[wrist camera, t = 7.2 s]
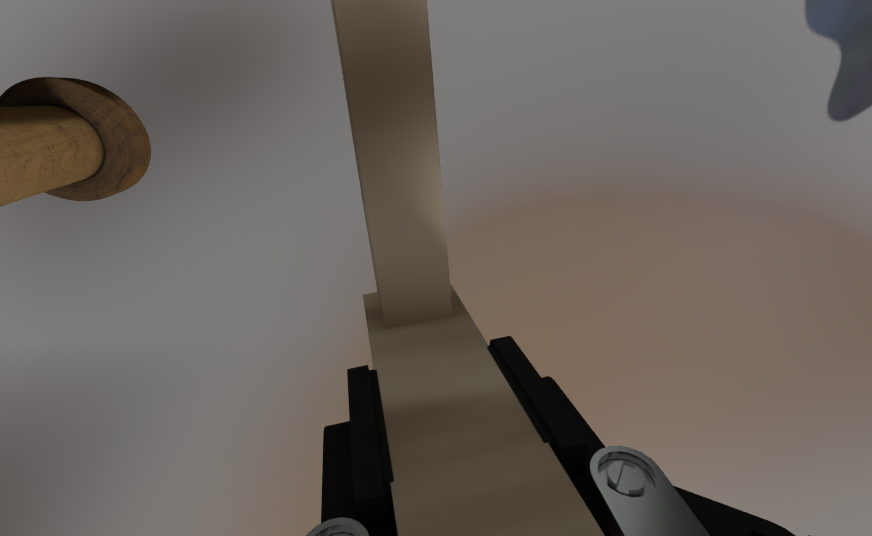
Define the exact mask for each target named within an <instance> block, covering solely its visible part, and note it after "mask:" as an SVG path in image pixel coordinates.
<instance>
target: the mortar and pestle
mask: <svg viewBox="0 0 872 536" xmlns="http://www.w3.org/2000/svg"><path fill="white" fill-rule="evenodd" d="M150 157H151V146H150V142H149V137H148V134H147V132H146V129H145V127H144V126H143V124H142V122H141V120H140V119H139V118H138V116H137V115H136V113H135V112H134V111H133V110H132V109H131V108H130V106H128V105H127V104H126V103H125V102H124V101H123V100H122V99H121V98H119V97H118V96H117V95H115V94H114V93H112V92H111V91H109V90H107V89H105V88H103V87H101V86H99V85H97V84H94V83H91V82H88V81H84V80H79V79H73V78H53V77H52V78H51V77H42V78H33V79H28V80H25V81H22V82H19V83H17V84H15V85H13V86H12V87H10V88H9V89H7V90H6V91H5V92H4V93H3V94H2V95H1V96H0V207H1V206H4V205H6V204H9V203H12V202H15V201H18V200H21V199H24V198H27V197H30V196H33V195H36V194H39V193H42V192H45V193H48V194H50V195H53V196H56V197H60V198H63V199H68V200H75V201H92V200H99V199H103V198H106V197H109V196H112V195H114V194H117V193H119V192H122V191H124V190H126V189H128V188H130V187H131V186H133V185H135V184H136V183H137V182H138V181H139V180H140V179H141V178H142V177H143V176H144V174H145V172H146V170H147V168H148V166H149V162H150Z"/></svg>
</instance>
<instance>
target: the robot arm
mask: <svg viewBox="0 0 872 536" xmlns="http://www.w3.org/2000/svg"><path fill="white" fill-rule="evenodd" d="M487 349H488V351H489V352H490V354H491V356H492V357H493V359H494V361H495V362H496V364H497V366H498V367H499V369H500V371H501V372H502V374H503V376H504V377H505V379H506V381H507V382H508V384H509V386H510V387H511V389H512V391H513V392H514V394H515V396H516V397H517V399H518V401H519V402H520V404H521V406H522V407H523V409H524V411H525V412H526V414H527V416H528V417H529V419H530V421H531V422H532V424H533V426H534V427H535V429H536V431H537V432H538V434H539V436H540V437H541V439H542V441H543V442H544V443H548V444H549V445H550V447H551V449H552V450H553V452H554V454H555V455H556V457H557V458H558V460H559V462H560V463H561V465H562V467H563V468H564V470H565V472H566V473H567V475H568V476H569V478H570V480H571V481H572V483H573V485H574V486H575V488H576V490H577V491H578V493H579V494H580V496H581V498H582V499H583V501H584V503H585V504H586V506H587V508H588V509H589V511H590V512H591V514H592V516H593V517H594V519H595V521H596V522H597V524H598V525H599V527H600V529H601V530H602V532H603V534H604V535H605V536H795V535H794V534H792V533H791V532H789V531H788V530H786V529H785V528H783V527H781V526H779V525H777V524H775V523H773V522H770V521H768V520H765V519H762V518H760V517H757V516H754V515H751V514H749V513H746V512H743V511H741V510H738V509H735V508H732V507H729V506H727V505H724V504H722V503H719V502H716V501H713V500H711V499H708V498H705V497H702V496H700V495H697V494H694V493H692V492H688V491H686V490H683V489H681V488H678V487H675V486H673V485H672V484H671V482H670V481H669V480H668V478H667V477H666V476H665V475H664V473H663V472H662V471H661V469H660V468H659V467H658V466H657V464H656V463H655V462H654V461H653V460H652V459H651V458H649V457H648V456H646V455H645V454H643V453H642V452H639V451H637V450H635V449H632V448H628V447H623V446H608V447H605V446H604V445H603V444H602V442H601V441H600V440H599V438H598V437H597V436H596V434H595V433H594V432H593V430H592V429H591V428H590V426H589V425H588V424H587V423H586V421H585V420H584V419H583V417H582V416H581V415H580V414H579V412H578V411H577V410H576V408H575V407H574V405H573V404H572V403H571V402H570V400H569V399H568V398H567V396H566V395H565V394H564V393H563V391H562V390H561V389H560V387H559V386H558V385H557V383H556V382H555V381H554V380H553V379H552V378H551V377H549V376H547V377H543V378H541V377H540V375H539V374H538V373H537V371H536V370H535V368H534V367H533V366H532V364H531V363H530V362H529V360H528V359H527V358H526V356H525V355H524V353H523V352H522V351H521V349H520V348H519V346H518V345H517V344H516V342H515V341H514V340H513V338H512V337H511V336H507V337H502V338H497V339H492V340H491V341H490V345H489V346H487ZM347 374H348V394H349V414H350V421H348V422H344V423H339V424H335V425H330V426H326V427H325V428H324V438H323V441H324V442H323V474H322V510H321V511H322V512H321V524H319V525H318V526H316V527H315V528H314V529H312V530H311V531H310V532H309V533H308V534H307V535H306V536H398V532H397V525H396V518H395V511H394V505H393V498H392V491H391V484H390V482H394V477H393V471H392V464H391V458H390V451H389V445H388V439H387V432H386V426H385V420H384V413H383V407H382V400H381V394H380V388H379V381H378V375H377V369H376V370H374V369H373V370H369V369H368V365H366V366H361V367H356V368H351V369H348V370H347ZM808 536H809V535H808Z"/></svg>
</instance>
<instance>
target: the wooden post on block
mask: <svg viewBox="0 0 872 536" xmlns="http://www.w3.org/2000/svg"><path fill="white" fill-rule="evenodd" d="M331 5H332V11H333V18H334V24H335V30H336V37H337V42H338V49H339V55H340V61H341V67H342V74H343V80H344V86H345V93H346V99H347V105H348V111H349V118H350V124H351V129H352V136H353V143H354V148H355V155H356V161H357V168H358V173H359V179H360V186H361V193H362V199H363V204H364V211H365V217H366V224H367V230H368V236H369V242H370V249H371V255H372V261H373V267H374V273H375V280H376V286H377V292H376V293H371V294H365V295H363V298H364V306H365V313H366V320H367V327H368V333H369V340H370V347H371V354H372V361H373V368H374V370H376V369H377V375H378V381H379V388H380V394H381V400H382V407H383V413H384V420H385V426H386V432H387V439H388V445H389V451H390V458H391V464H392V471H393V477H394V482H390V484H391V491H392V498H393V505H394V511H395V518H396V525H397V532H398V536H605V535H604V534H603V532H602V530H601V529H600V527H599V525H598V524H597V522H596V521H595V519H594V517H593V516H592V514H591V512H590V511H589V509H588V508H587V506H586V504H585V503H584V501H583V499H582V498H581V496H580V494H579V493H578V491H577V490H576V488H575V486H574V485H573V483H572V481H571V480H570V478H569V476H568V475H567V473H566V472H565V470H564V468H563V467H562V465H561V463H560V462H559V460H558V458H557V457H556V455H555V454H554V452H553V450H552V449H551V447H550V445H549V444H548V443H544V442H543V441H542V439H541V437H540V436H539V434H538V432H537V431H536V429H535V427H534V426H533V424H532V422H531V421H530V419H529V417H528V416H527V414H526V412H525V411H524V409H523V407H522V406H521V404H520V402H519V401H518V399H517V397H516V396H515V394H514V392H513V391H512V389H511V387H510V386H509V384H508V382H507V381H506V379H505V377H504V376H503V374H502V372H501V371H500V369H499V367H498V366H497V364H496V362H495V361H494V359H493V357H492V356H491V354H490V352H489V351H488V349H487V346H488V344H487V343H486V341H485V339H484V338H483V336H482V334H481V333H480V331H479V329H478V328H477V326H476V325H475V323H474V321H473V320H472V318H471V317H470V315H469V313H468V312H467V310H466V308H465V307H464V305H463V303H462V302H461V300H460V299H459V297H458V295H457V293H456V292H455V290H454V289H453V287H452V286H451V284H450V280H449V269H448V256H447V244H446V231H445V220H444V206H443V194H442V182H441V170H440V158H439V146H438V133H437V121H436V110H435V98H434V86H433V72H432V62H431V61H432V60H431V49H430V37H429V24H428V11H427V0H331Z"/></svg>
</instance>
